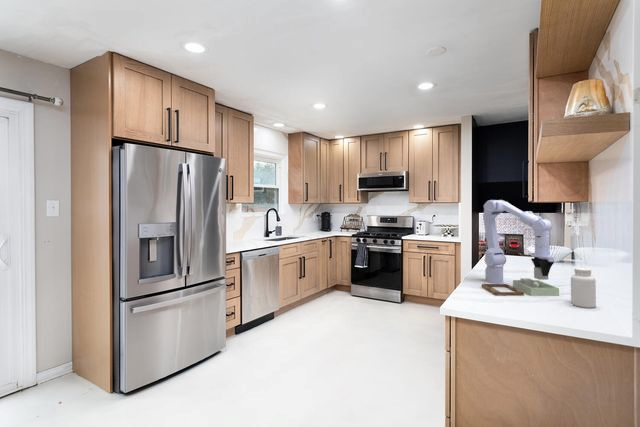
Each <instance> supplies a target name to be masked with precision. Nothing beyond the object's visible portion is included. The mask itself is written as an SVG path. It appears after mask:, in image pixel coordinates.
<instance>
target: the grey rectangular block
mask: <svg viewBox="0 0 640 427" xmlns="http://www.w3.org/2000/svg"><path fill="white" fill-rule="evenodd" d="M519 280H520V283H522V284H524V285H526V286H529V287H531V288H534V280H535V279H531V278H527V277H525V278H523V277H522V278H521V277H520V279H519Z"/></svg>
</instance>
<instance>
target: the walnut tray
mask: <svg viewBox="0 0 640 427" xmlns="http://www.w3.org/2000/svg"><path fill="white" fill-rule="evenodd" d="M481 288H482V289H484V290H486V291H488V292H489V293H491V294H493V295H494V296H496V297H497V296H498V297H501V296H502V297H507V296H508V297H509V296H511V297H512V296H513V297H514V296H517V297H518V296H520V297H521V296H522V297H524V296H525V293H524V292H522V291H520V290H518V289H516V288H514V287H513V285H509V284H508V283H506V284H490V283H481ZM496 288H507V289H508V290H510V291H499V290H498V289H496Z"/></svg>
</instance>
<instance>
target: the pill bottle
mask: <svg viewBox="0 0 640 427" xmlns="http://www.w3.org/2000/svg"><path fill="white" fill-rule="evenodd" d="M596 281H597V280H596V278H595V277H594V276H593V275H592V269H591V268H586V267H575V268H574V274H572V275H571V277H570V302H571V304H572V305H573V306H575V307H580V308H585V309H586V308H587V309H591V308H592V309H593V308H596V305H597V296H596V294H597V290H596V287H597V285H596V284H597V283H596Z"/></svg>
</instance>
